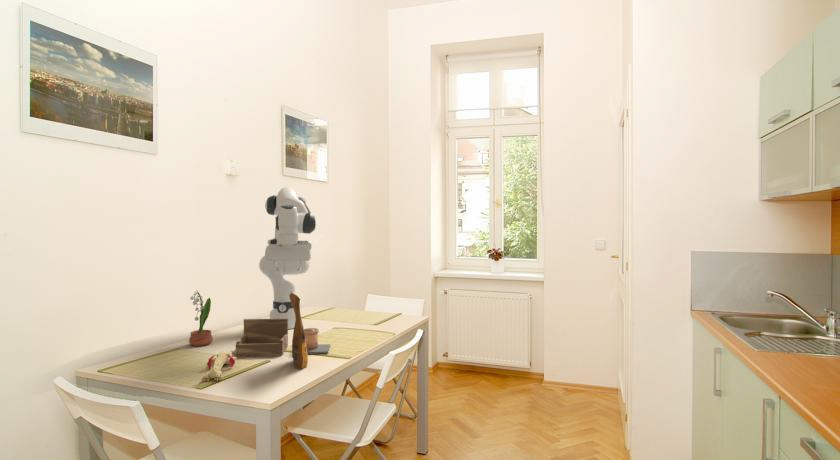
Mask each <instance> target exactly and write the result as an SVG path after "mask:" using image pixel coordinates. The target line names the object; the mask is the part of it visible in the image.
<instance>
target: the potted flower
mask: <svg viewBox="0 0 840 460" xmlns="http://www.w3.org/2000/svg"><path fill="white" fill-rule="evenodd" d="M189 299H190V300H194V301H192V305H194V306H195V305H196V306H199V305H200V309H199V307H195V310H194V311H197V313H196V317H194V321H196V322H197V321H199V327H198V329H197V330H193V331H191V332H190V337H189V339H188V343H189V345H191V346H194V347H200V346H201V347H202V346H207V345H210V344H211V343H213V340H214V339H213V338H214V337H213V336H212V330H210V329H204V326H205V324H206V322H207V319H208V318H209V315H210V311H211V307H212V306H211V305H212V304H211V303H212V301H211V298H210V297H208V298H207V299H206V301H205V304H204V300H203V296H202V295H201V293H200V292H199V291H198V290H196V291H194V293H193V295H192V296H190V297H189ZM198 302H200V303H198ZM199 312H200V314H199V317H198V313H199Z"/></svg>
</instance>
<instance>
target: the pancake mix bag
mask: <svg viewBox="0 0 840 460" xmlns="http://www.w3.org/2000/svg"><path fill="white" fill-rule="evenodd" d="M289 296H290V300H291V303H292V306H293V309H294V312H295V318H296V320H295V326H294V328H293V332H292V333H293V334H292V341H291V342H292V343H291V356H292V360H293V364H294V368H295V369H297V370H298V369H299V370H303V369H305V368H307V367H308V363H309V362H308V361H309V358H308V357H309V356H308V355H309V354H308V353H307V344H306V338H305V333H304V329H305V328H304V325H303V321H302V314H301V306H300V305H301V304H300V302H301V299H300V297H299V296H298V295H297V294H296V293H295V294H293V293H292V292H291V293H290V295H289Z"/></svg>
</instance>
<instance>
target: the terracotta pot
mask: <svg viewBox="0 0 840 460" xmlns="http://www.w3.org/2000/svg"><path fill="white" fill-rule="evenodd" d="M304 333H305V338H306V344H307V350H312V349H317V348H318V345H319V341H318V340H319V338H318V337H319V336H318V335H319V328H315V327H309V328H308V327H307V328H304Z"/></svg>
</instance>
